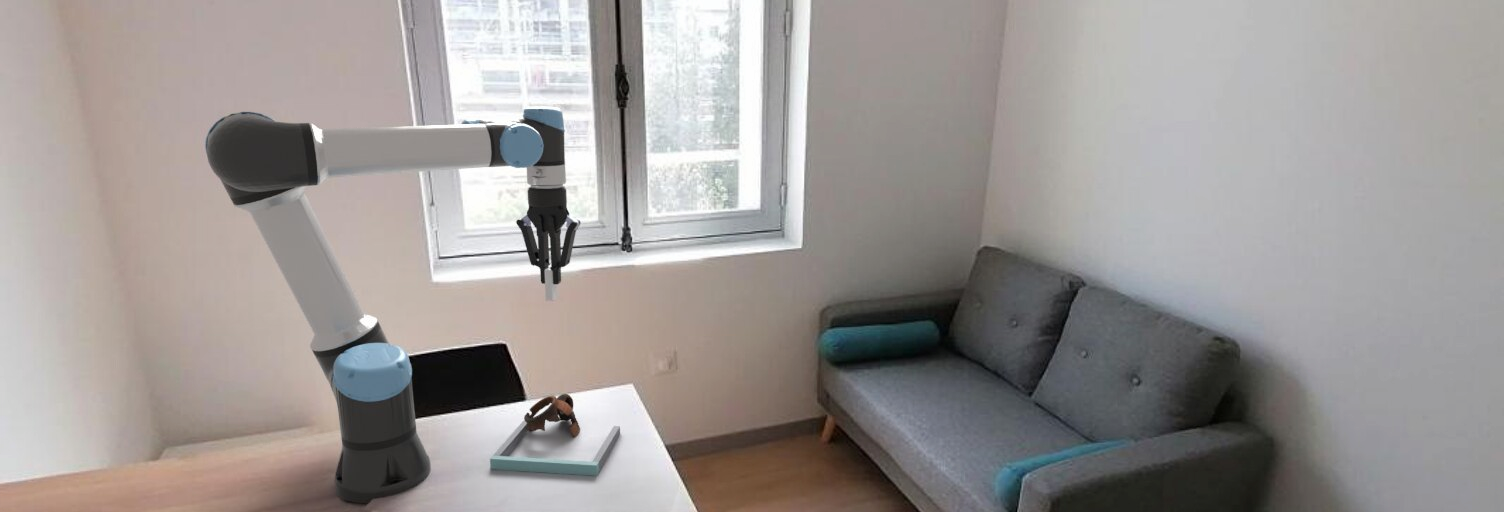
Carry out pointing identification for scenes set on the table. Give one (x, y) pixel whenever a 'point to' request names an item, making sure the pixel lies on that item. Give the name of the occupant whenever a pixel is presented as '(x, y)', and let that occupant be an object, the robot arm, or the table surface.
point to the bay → (550, 465)
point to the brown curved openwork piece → (552, 413)
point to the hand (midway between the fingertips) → (551, 298)
